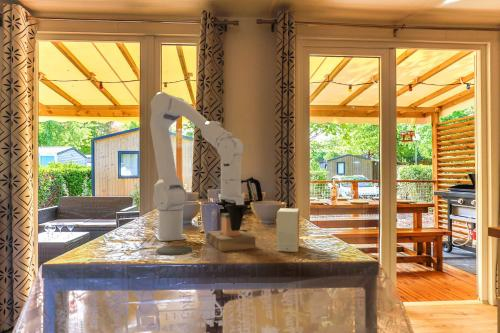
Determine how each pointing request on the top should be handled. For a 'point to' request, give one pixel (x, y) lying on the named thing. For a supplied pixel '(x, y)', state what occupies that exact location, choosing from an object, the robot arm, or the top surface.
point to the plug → (227, 226)
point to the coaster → (174, 250)
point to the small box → (288, 229)
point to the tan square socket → (230, 241)
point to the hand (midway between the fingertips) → (230, 228)
